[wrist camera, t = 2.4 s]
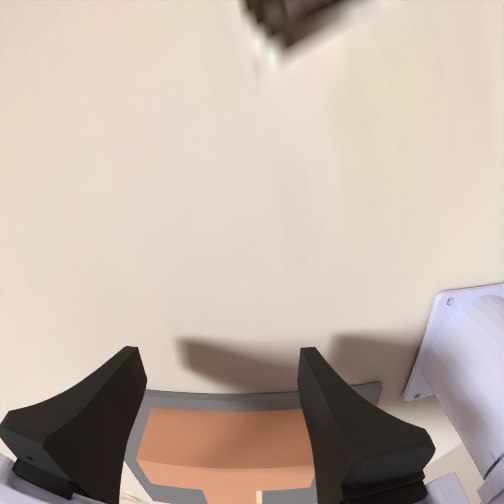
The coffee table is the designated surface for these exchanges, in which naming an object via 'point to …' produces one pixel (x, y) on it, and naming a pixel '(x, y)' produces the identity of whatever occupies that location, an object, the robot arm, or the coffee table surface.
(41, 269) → the coffee table surface
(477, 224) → the coffee table surface
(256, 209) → the coffee table surface
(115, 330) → the coffee table surface
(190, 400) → the charcoal mat
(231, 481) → the rust T block
